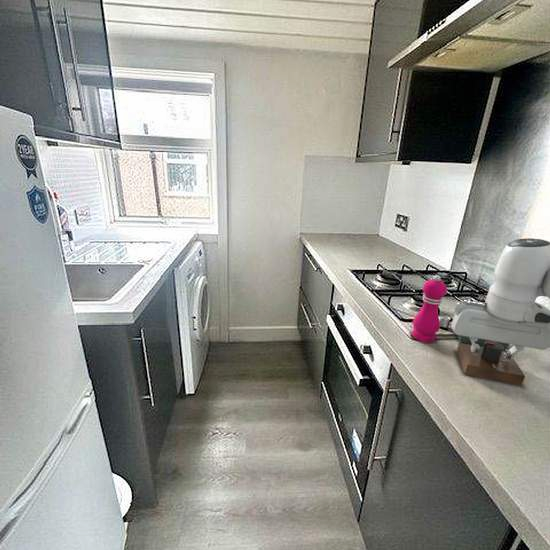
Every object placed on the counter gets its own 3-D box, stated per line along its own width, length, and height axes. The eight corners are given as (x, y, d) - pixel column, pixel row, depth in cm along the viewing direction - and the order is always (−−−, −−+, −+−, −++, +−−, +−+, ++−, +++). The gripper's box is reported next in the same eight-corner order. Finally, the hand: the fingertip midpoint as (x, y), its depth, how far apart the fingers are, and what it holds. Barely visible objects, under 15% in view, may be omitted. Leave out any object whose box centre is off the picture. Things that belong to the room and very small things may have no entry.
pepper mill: (410, 340, 89) (424, 277, 82) (410, 328, 96) (423, 269, 88) (437, 346, 87) (454, 282, 79) (435, 333, 93) (450, 273, 86)
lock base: (506, 361, 81) (510, 351, 80) (521, 386, 72) (525, 375, 71) (456, 351, 84) (459, 342, 83) (464, 374, 76) (467, 363, 74)
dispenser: (495, 332, 94) (500, 318, 93) (507, 350, 86) (512, 335, 84) (452, 325, 98) (456, 311, 96) (459, 342, 89) (463, 327, 87)
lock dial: (496, 355, 78) (501, 341, 77) (501, 364, 75) (506, 349, 73) (478, 351, 79) (483, 337, 78) (482, 360, 76) (487, 346, 74)
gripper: (461, 304, 72) (447, 352, 77) (566, 319, 66) (544, 371, 71) (455, 293, 77) (443, 339, 83) (552, 307, 72) (532, 356, 77)
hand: (490, 354), depth 77 cm, fingers open, 6 cm apart
